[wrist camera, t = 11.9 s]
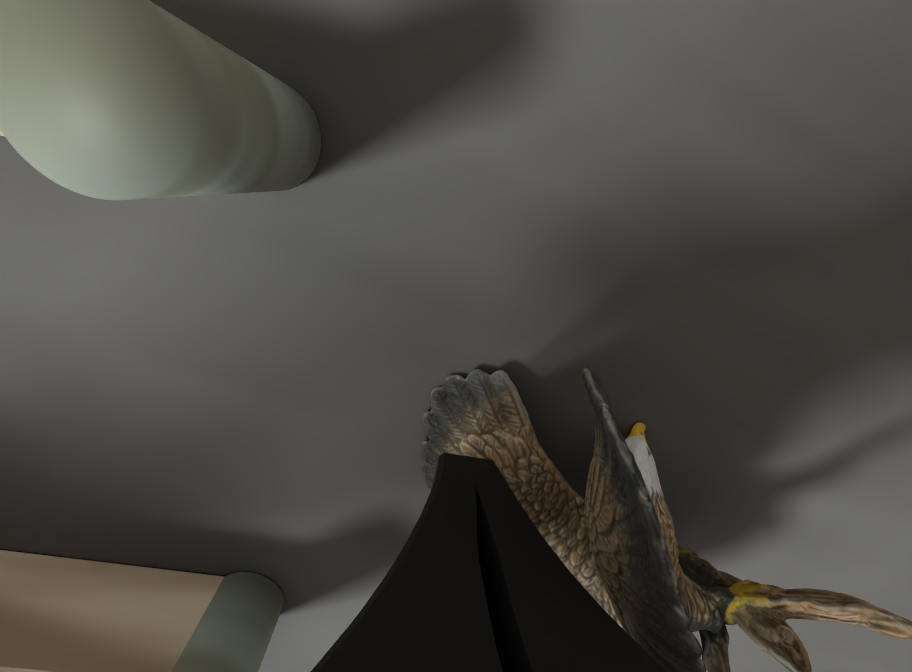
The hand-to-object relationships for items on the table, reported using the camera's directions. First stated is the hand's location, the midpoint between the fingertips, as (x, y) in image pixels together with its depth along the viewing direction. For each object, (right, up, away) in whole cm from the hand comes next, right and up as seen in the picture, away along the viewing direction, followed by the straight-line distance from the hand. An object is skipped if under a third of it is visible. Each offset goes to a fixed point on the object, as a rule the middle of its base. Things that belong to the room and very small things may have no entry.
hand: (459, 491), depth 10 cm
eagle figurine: (+3, 0, +2) cm, 4 cm away
